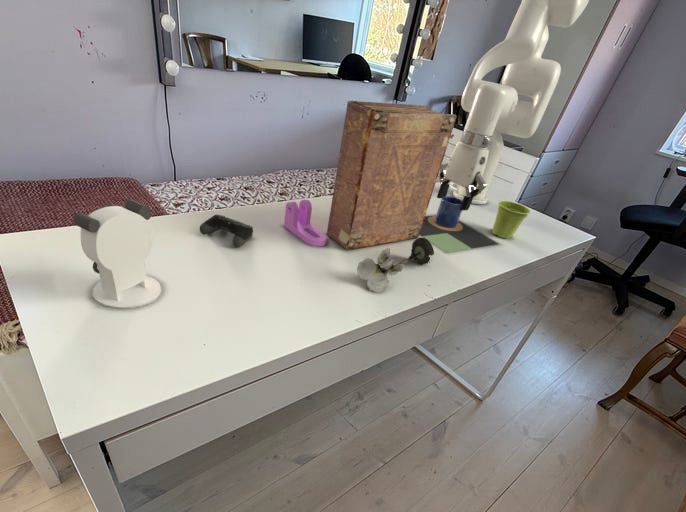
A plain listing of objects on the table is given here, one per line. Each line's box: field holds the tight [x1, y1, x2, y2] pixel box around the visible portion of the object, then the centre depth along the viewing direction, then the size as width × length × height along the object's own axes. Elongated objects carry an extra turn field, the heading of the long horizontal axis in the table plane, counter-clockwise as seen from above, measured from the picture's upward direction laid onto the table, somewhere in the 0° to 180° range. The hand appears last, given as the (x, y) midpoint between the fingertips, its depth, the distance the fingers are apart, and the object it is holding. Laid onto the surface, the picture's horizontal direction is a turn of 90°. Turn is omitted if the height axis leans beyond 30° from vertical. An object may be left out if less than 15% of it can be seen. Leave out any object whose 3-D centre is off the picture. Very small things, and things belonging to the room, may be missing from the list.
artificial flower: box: [356, 237, 435, 293], centre depth 89 cm, size 9×22×10 cm, turn 130°
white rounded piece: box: [73, 198, 162, 310], centre depth 67 cm, size 12×11×15 cm
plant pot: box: [491, 200, 532, 240], centre depth 118 cm, size 9×9×9 cm
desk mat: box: [419, 214, 499, 253], centre depth 116 cm, size 22×22×1 cm
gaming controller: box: [198, 214, 254, 248], centre depth 92 cm, size 12×8×5 cm, turn 63°
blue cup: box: [434, 195, 463, 228], centre depth 119 cm, size 7×7×7 cm
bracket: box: [283, 199, 328, 247], centre depth 98 cm, size 13×6×7 cm, turn 37°
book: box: [326, 100, 457, 251], centre depth 96 cm, size 25×9×30 cm, turn 123°
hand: (451, 203), depth 117 cm, fingers open, 9 cm apart
